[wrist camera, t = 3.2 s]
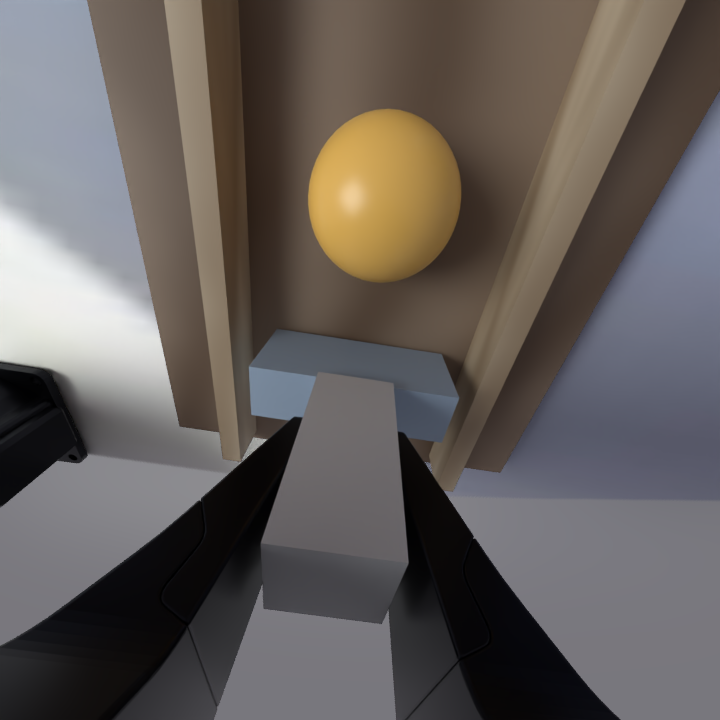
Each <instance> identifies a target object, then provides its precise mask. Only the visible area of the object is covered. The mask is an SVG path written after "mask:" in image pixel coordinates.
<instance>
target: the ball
mask: <svg viewBox="0 0 720 720" xmlns="http://www.w3.org/2000/svg"><path fill="white" fill-rule="evenodd" d="M460 204H461V180H460V173H459V169H458V166H457V162H456V160H455V157H454V155H453V152H452V150H451V148H450V147H449V145H448V143H447V142H446V140H445V139H444V138H443V136H442V135H441V134H440V133H439V131H438V130H436V129H435V128H434V127H433V126H432V125H431V124H430V123H428V122H427V121H425V120H424V119H422V118H421V117H419V116H417V115H414V114H412V113H410V112H406V111H402V110H396V109H379V110H373V111H369V112H365V113H363V114H361V115H358V116H356V117H354V118H352V119H351V120H349V121H348V122H346V123H345V124H343V125H342V126H341V127H340V128H339V129H337V130H336V131H335V132H334V134H333V135H332V136H331V137H330V138H329V139H328V140H327V142H326V143H325V145H324V146H323V148H322V149H321V151H320V153H319V155H318V157H317V159H316V162H315V165H314V167H313V170H312V174H311V178H310V183H309V191H308V208H309V216H310V220H311V224H312V228H313V231H314V233H315V236H316V238H317V240H318V242H319V244H320V246H321V248H322V249H323V251H324V252H325V254H326V255H327V256H328V257H329V258H330V260H331V261H332V262H333V263H334V264H336V265H337V266H338V267H339V268H340V269H342V270H343V271H345V272H346V273H348V274H350V275H352V276H353V277H356V278H359V279H361V280H365V281H369V282H377V283H386V282H394V281H399V280H402V279H405V278H408V277H410V276H412V275H415V274H416V273H418V272H420V271H421V270H423V269H424V268H425V267H427V266H428V265H429V264H430V263H431V262H432V261H433V260H434V259H435V258H436V257H437V256H438V255H439V254H440V253H441V251H442V250H443V249H444V247H445V246H446V244H447V243H448V241H449V239H450V237H451V235H452V233H453V231H454V228H455V226H456V223H457V220H458V215H459V211H460Z"/></svg>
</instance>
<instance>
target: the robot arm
mask: <svg viewBox="0 0 720 720" xmlns="http://www.w3.org/2000/svg"><path fill="white" fill-rule="evenodd" d="M302 419H303V417H297V416H295V417H293V418H291V419H290V420H289V421H288V422H287V423H286V424H285V425H283V426H282V427H281V428H280V429H279V430H278V431H277V432H276V433H274V434H273V435H272V436H271V437H270V438H269V439H268V440H267V441H265V442H264V443H263V444H262V445H261V446H260V447H259V448H257V449H256V450H255V451H254V452H253V453H252V454H251V455H250V456H248V457H247V458H246V459H245V460H244V461H243V462H242V463H240V464H239V465H238V466H237V467H236V468H235V469H234V470H233V471H231V472H230V473H229V474H228V475H227V476H226V477H225V478H223V479H222V480H221V481H220V482H219V483H218V484H217V485H216V486H215V487H213V488H212V489H211V490H210V491H209V492H208V493H207V494H205V495H204V496H203V497H202V498H201V501H197V502H196V503H195V504H194V505H193V506H192V507H190V508H189V509H188V510H187V511H186V512H185V513H184V514H182V515H181V516H180V517H179V518H178V519H177V520H175V521H174V522H173V523H172V524H171V525H169V526H168V527H167V528H166V529H165V530H163V531H162V532H161V533H160V534H158V535H157V536H156V537H155V538H153V539H152V540H151V541H150V542H148V543H147V544H146V545H144V546H143V547H142V548H140V549H139V550H138V551H137V552H135V553H134V554H133V555H131V556H130V557H129V558H127V559H126V560H124V562H122V563H120V564H119V565H118V566H117V567H115V568H114V569H112V570H111V571H110V572H108V573H107V574H106V575H104V576H103V577H102V578H100V579H99V580H98V581H96V582H95V583H94V584H92V585H91V586H90V587H88V588H87V589H86V590H85V591H83V592H82V593H80V594H79V595H78V596H76V597H75V598H74V599H72V600H71V601H70V602H69V603H67V604H66V605H64V606H63V607H62V608H60V609H59V610H57V611H56V612H55V613H53V614H52V615H51V616H49V617H48V618H46V619H45V620H43V621H42V622H40V623H39V624H37V625H36V626H34V627H32V628H31V629H29V630H28V631H26V632H24V633H23V634H21V635H20V636H17V637H16V638H14V639H12V640H10V641H9V642H7V643H5V644H3V645H1V646H0V720H214V717H215V714H216V711H217V706H218V705H219V703H220V700H221V697H222V695H223V691H224V689H225V686H226V683H227V681H228V678H229V675H230V672H231V669H232V667H233V664H234V661H235V658H236V656H237V653H238V650H239V647H240V644H241V641H242V639H243V636H244V633H245V631H246V628H247V625H248V622H249V619H250V617H251V614H252V611H253V608H254V605H255V603H256V600H257V597H258V594H259V591H260V589H261V586H262V561H261V541H262V538H263V535H264V532H265V529H266V526H267V523H268V520H269V517H270V514H271V511H272V508H273V505H274V502H275V499H276V496H277V493H278V490H279V487H280V484H281V481H282V478H283V475H284V472H285V469H286V466H287V463H288V460H289V457H290V454H291V451H292V448H293V445H294V442H295V439H296V436H297V433H298V431H299V428H300V425H301V422H302ZM397 432H398V444H399V456H400V467H401V479H402V491H403V503H404V515H405V526H406V538H407V550H408V562H409V563H408V566H407V568H406V570H405V572H404V575H403V577H402V579H401V582H400V584H399V586H398V588H397V591H396V593H395V595H394V597H393V600H392V602H391V604H390V606H389V622H390V637H391V650H392V665H393V680H394V694H395V707H396V708H395V709H396V720H620V719H619V718H618V717H617V716H616V715H615V714H614V713H613V712H612V711H611V710H610V709H609V708H608V707H607V706H606V705H605V704H604V703H603V702H602V701H601V700H600V699H599V698H598V697H597V696H596V695H595V693H594V692H593V691H592V690H591V689H590V688H589V687H588V686H587V684H586V683H585V682H584V681H583V680H582V678H581V677H580V676H579V675H578V674H577V672H576V671H575V670H574V669H573V667H572V666H571V665H570V663H569V662H568V661H567V660H566V658H565V657H564V656H563V655H562V653H561V652H560V651H559V649H558V648H557V647H556V646H555V644H554V643H553V642H552V641H551V640H550V638H549V637H548V636H547V634H546V633H545V632H544V630H543V629H542V628H541V627H540V626H539V624H538V623H537V622H536V620H535V619H534V618H533V617H532V615H531V614H530V613H529V611H528V610H527V609H526V608H525V606H524V605H523V604H522V603H521V601H520V600H519V599H518V597H517V596H516V595H515V593H514V592H513V591H512V590H511V588H510V587H509V585H508V584H507V583H506V582H505V580H504V579H503V578H502V576H501V575H500V573H499V572H498V571H497V569H496V568H495V566H494V565H493V563H492V562H491V561H490V560H489V558H488V556H487V555H486V553H485V552H484V550H483V549H482V547H481V546H480V544H479V543H478V542H477V540H476V539H473V537H474V536H473V534H472V533H471V531H470V530H469V528H468V527H467V525H466V524H465V522H464V521H463V519H462V518H461V516H460V515H459V513H458V512H457V510H456V509H455V507H454V506H453V504H452V503H451V501H450V500H449V498H448V497H447V495H446V494H445V492H444V491H443V489H442V488H441V486H440V485H439V483H438V482H437V480H436V479H435V478H434V476H433V475H432V473H431V472H430V470H429V469H428V467H427V466H426V464H425V463H424V461H423V460H422V458H421V457H420V455H419V454H418V452H417V451H416V449H415V448H414V446H413V445H412V443H411V442H410V440H409V439H408V437H407V436H406V434H405V433H404V432H399V431H397ZM87 456H88V455H87V452H86V450H85V448H84V445H83V443H82V441H81V439H80V437H79V434H78V432H77V430H76V428H75V426H74V423H73V421H72V419H71V417H70V415H69V413H68V410H67V408H66V406H65V404H64V402H63V399H62V397H61V395H60V393H59V391H58V388H57V386H56V384H55V382H54V380H53V378H52V376H51V375H50V374H49V373H48V372H46V371H44V370H41V369H36V368H29V367H23V366H16V365H9V364H2V363H0V507H2V506H3V505H4V504H5V503H7V502H8V501H9V500H10V499H11V498H13V497H14V496H15V495H16V494H17V493H19V492H20V491H21V490H22V489H23V488H25V487H26V486H27V485H28V484H30V483H31V482H32V481H33V480H34V479H36V478H37V477H38V476H39V475H40V474H41V473H43V472H44V471H45V470H46V469H48V468H49V467H50V466H51V465H52V464H54V463H55V462H56V461H64V462H71V463H80V462H82V461H83V460H84V459H85V458H86V457H87Z"/></svg>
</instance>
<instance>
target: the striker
mask: <svg viewBox="0 0 720 720" xmlns="http://www.w3.org/2000/svg"><path fill="white" fill-rule="evenodd" d="M249 381H250V400H251V415H255V416H262V417H269V418H276V419H283V420H290V419H291V418H293V417H295V416H297V417H303V419H302V422H301V425H300V428H299V431H298V433H297V436H296V439H295V442H294V445H293V448H292V451H291V454H290V457H289V460H288V463H287V466H286V469H285V472H284V475H283V478H282V481H281V484H280V487H279V490H278V493H277V496H276V499H275V502H274V505H273V508H272V511H271V514H270V517H269V520H268V523H267V526H266V529H265V532H264V535H263V538H262V541H261V561H262V583H263V603H264V604H263V606H264V609H270V610H277V611H285V612H294V613H301V614H308V615H316V616H324V617H332V618H339V619H347V620H355V621H363V622H371V623H379V624H382V622H383V620H384V618H385V615H386V613H387V611H388V609H389V606H390V604H391V602H392V600H393V597H394V595H395V593H396V591H397V588H398V586H399V584H400V582H401V579H402V577H403V575H404V572H405V570H406V568H407V566H408V563H409V562H408V550H407V538H406V526H405V515H404V503H403V491H402V479H401V467H400V456H399V444H398V432H397V431H399V432H404V433H405V434H406V436H407V437H408V438H413V439H420V440H426V441H433V442H440V443H442V441H443V438H444V436H445V433H446V431H447V428H448V426H449V423H450V421H451V418H452V416H453V413H454V411H455V408H456V405H457V403H458V400H459V396H458V394H457V391H456V389H455V386H454V384H453V381H452V379H451V376H450V374H449V371H448V369H447V366H446V364H445V361H444V359H443V356H442V354H438V353H431V352H425V351H418V350H412V349H405V348H399V347H392V346H386V345H379V344H373V343H366V342H360V341H353V340H347V339H340V338H334V337H327V336H321V335H314V334H308V333H302V332H295V331H289V330H282V329H277V330H276V331H275V332H274V334H273V335H272V336H271V338H270V339H269V340H268V342H267V343H266V344H265V346H264V347H263V348H262V350H261V351H260V352H259V354H258V355H257V356H256V358H255V359H254V360H253V362H252V363H251V364H250V366H249Z"/></svg>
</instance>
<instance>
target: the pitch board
mask: <svg viewBox="0 0 720 720" xmlns="http://www.w3.org/2000/svg"><path fill="white" fill-rule="evenodd" d="M87 2H88V6H89V11H90V16H91V20H92V25H93V29H94V34H95V39H96V43H97V48H98V53H99V57H100V62H101V66H102V71H103V76H104V80H105V85H106V89H107V94H108V99H109V103H110V108H111V112H112V117H113V122H114V126H115V131H116V135H117V140H118V145H119V149H120V154H121V158H122V163H123V168H124V172H125V177H126V181H127V186H128V191H129V195H130V200H131V204H132V209H133V214H134V218H135V223H136V227H137V232H138V237H139V241H140V246H141V251H142V255H143V260H144V264H145V269H146V274H147V278H148V283H149V287H150V292H151V297H152V301H153V306H154V310H155V315H156V320H157V324H158V329H159V333H160V338H161V343H162V347H163V352H164V356H165V361H166V366H167V370H168V375H169V379H170V384H171V389H172V393H173V398H174V402H175V407H176V412H177V416H178V421H179V425H180V427H187V428H194V429H201V430H207V431H214V432H220V440H221V448H222V456H223V459H226V460H233V461H240V462H241V460H242V458H243V456H244V454H245V452H246V450H247V448H248V446H249V444H250V442H251V440H252V438H253V437H256V438H263V439H269V438H270V437H271V436H272V435H273V434H274V433H276V432H277V431H278V430H279V429H280V428H281V427H282V426H283V425H285V424H286V423H287V422H288V421H289V420H283V419H276V418H269V417H262V416H255V415H251V400H250V381H249V366H250V364H251V363H252V362H253V360H254V359H255V358H256V356H257V355H258V354H259V352H260V351H261V350H262V348H263V347H264V346H265V344H266V343H267V342H268V340H269V339H270V338H271V336H272V335H273V334H274V332H275V331H276V330H277V329H282V330H289V331H295V332H302V333H308V334H314V335H321V336H327V337H334V338H340V339H347V340H353V341H360V342H366V343H373V344H379V345H386V346H392V347H399V348H405V349H412V350H418V351H425V352H431V353H438V354H442V356H443V359H444V361H445V364H446V366H447V369H448V371H449V374H450V376H451V379H452V381H453V384H454V386H455V389H456V391H457V394H458V396H459V400H458V403H457V405H456V408H455V411H454V413H453V416H452V418H451V421H450V423H449V426H448V428H447V431H446V433H445V436H444V438H443V441H442V443H440V442H433V441H426V440H420V439H413V438H408V439H409V440H410V442H411V443H412V445H413V446H414V448H415V449H416V451H417V452H418V454H419V455H420V457H421V458H422V460H423V461H424V462H429V463H431V468H432V473H433V476H434V478H435V479H436V480H437V482H438V483H439V485H440V486H441V488H442V489H443V490H445V491H452V492H453V490H454V488H455V486H456V484H457V482H458V479H459V477H460V475H461V473H462V471H463V469H464V468H471V469H478V470H485V471H492V472H499V473H500V472H501V471H502V469H503V467H504V465H505V464H506V462H507V460H508V458H509V457H510V455H511V453H512V451H513V450H514V448H515V446H516V444H517V443H518V441H519V439H520V437H521V436H522V434H523V432H524V431H525V429H526V427H527V425H528V424H529V422H530V420H531V418H532V417H533V415H534V413H535V411H536V410H537V408H538V406H539V404H540V403H541V401H542V399H543V397H544V396H545V394H546V392H547V390H548V389H549V387H550V385H551V383H552V382H553V380H554V378H555V376H556V375H557V373H558V371H559V369H560V368H561V366H562V364H563V362H564V361H565V359H566V357H567V355H568V354H569V352H570V350H571V348H572V347H573V345H574V343H575V341H576V340H577V338H578V336H579V335H580V333H581V331H582V329H583V328H584V326H585V324H586V322H587V321H588V319H589V317H590V315H591V314H592V312H593V310H594V308H595V307H596V305H597V303H598V301H599V300H600V298H601V296H602V294H603V293H604V291H605V289H606V287H607V286H608V284H609V282H610V280H611V279H612V277H613V275H614V273H615V272H616V270H617V268H618V266H619V265H620V263H621V261H622V259H623V258H624V256H625V254H626V252H627V251H628V249H629V247H630V245H631V244H632V242H633V240H634V238H635V237H636V235H637V233H638V232H639V230H640V228H641V226H642V225H643V223H644V221H645V219H646V218H647V216H648V214H649V212H650V211H651V209H652V207H653V205H654V204H655V202H656V200H657V198H658V197H659V195H660V193H661V191H662V190H663V188H664V186H665V184H666V183H667V181H668V179H669V177H670V176H671V174H672V172H673V170H674V169H675V167H676V165H677V163H678V162H679V160H680V158H681V156H682V155H683V153H684V151H685V149H686V148H687V146H688V144H689V142H690V141H691V139H692V137H693V135H694V134H695V132H696V130H697V129H698V127H699V125H700V123H701V122H702V120H703V118H704V116H705V115H706V113H707V111H708V109H709V108H710V106H711V104H712V102H713V101H714V99H715V97H716V95H717V94H718V92H719V90H720V0H87ZM379 109H396V110H402V111H406V112H410V113H412V114H414V115H417V116H419V117H421V118H422V119H424V120H425V121H427V122H428V123H430V124H431V125H432V126H433V127H434V128H435V129H436V130H438V131H439V133H440V134H441V135H442V136H443V138H444V139H445V140H446V142H447V143H448V145H449V147H450V148H451V150H452V152H453V155H454V157H455V160H456V162H457V166H458V169H459V173H460V180H461V204H460V211H459V215H458V220H457V223H456V226H455V228H454V231H453V233H452V235H451V237H450V239H449V241H448V243H447V244H446V246H445V247H444V249H443V250H442V251H441V253H440V254H439V255H438V256H437V257H436V258H435V259H434V260H433V261H432V262H431V263H430V264H429V265H428V266H427V267H425V268H424V269H423V270H421V271H420V272H418V273H416V274H415V275H412V276H410V277H408V278H405V279H402V280H399V281H394V282H386V283H377V282H369V281H365V280H361V279H359V278H356V277H353V276H352V275H350V274H348V273H346V272H345V271H343V270H342V269H340V268H339V267H338V266H337V265H336V264H334V263H333V262H332V261H331V260H330V258H329V257H328V256H327V255H326V254H325V252H324V251H323V249H322V248H321V246H320V244H319V242H318V240H317V238H316V236H315V233H314V231H313V228H312V224H311V220H310V216H309V208H308V191H309V183H310V178H311V174H312V170H313V167H314V165H315V162H316V159H317V157H318V155H319V153H320V151H321V149H322V148H323V146H324V145H325V143H326V142H327V140H328V139H329V138H330V137H331V136H332V135H333V134H334V132H335V131H336V130H337V129H339V128H340V127H341V126H342V125H343V124H345V123H346V122H348V121H349V120H351V119H352V118H354V117H356V116H358V115H361V114H363V113H365V112H369V111H373V110H379Z"/></svg>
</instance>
